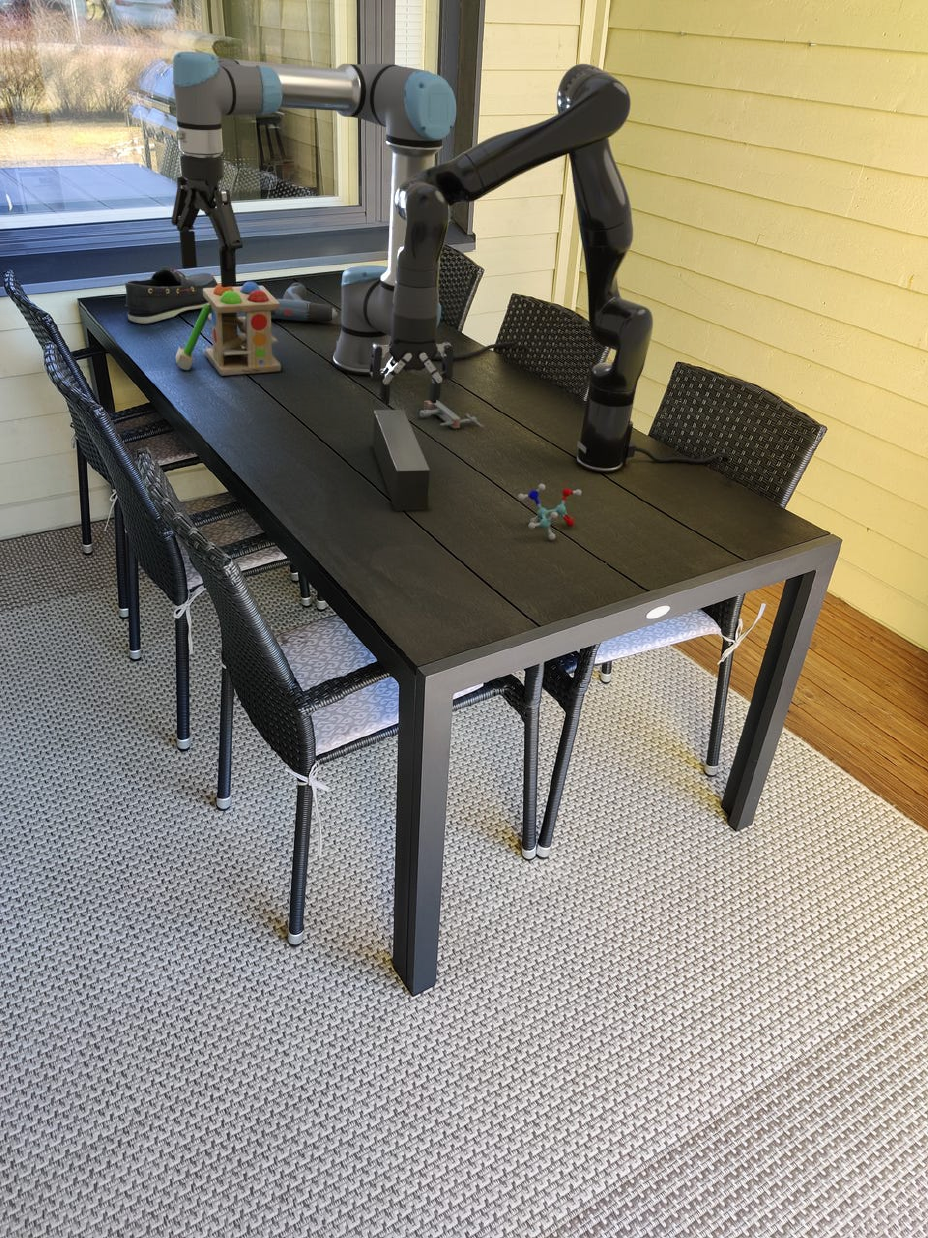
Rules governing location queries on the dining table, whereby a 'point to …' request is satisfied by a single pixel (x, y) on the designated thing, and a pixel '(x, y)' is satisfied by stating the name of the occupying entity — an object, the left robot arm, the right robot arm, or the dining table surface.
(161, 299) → the boat shoe
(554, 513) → the molecular model
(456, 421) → the clamp
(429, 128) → the left robot arm
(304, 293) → the power drill
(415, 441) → the bar
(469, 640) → the dining table surface
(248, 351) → the pounding bench toy
